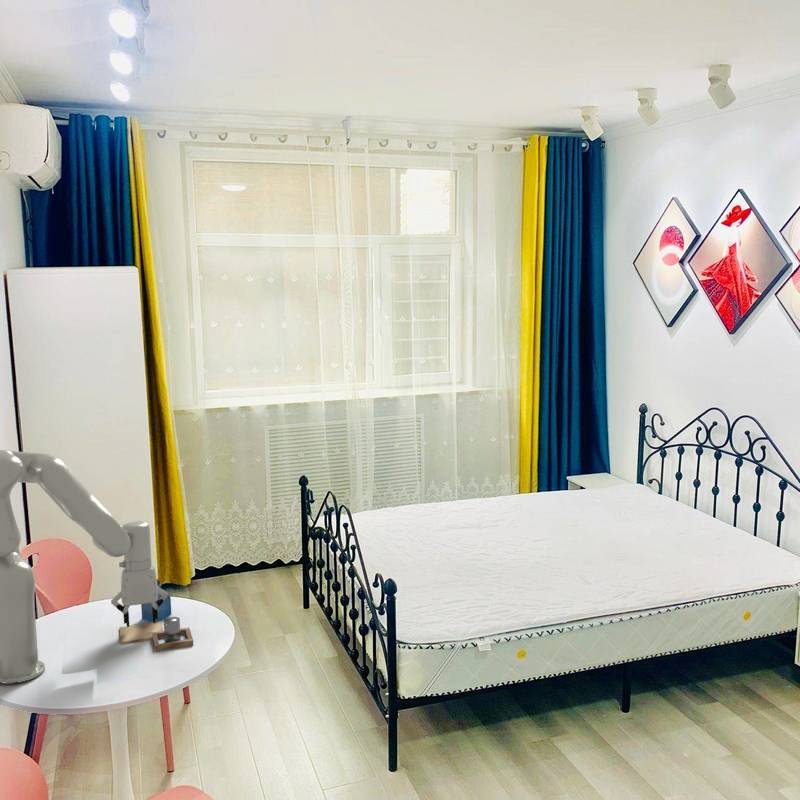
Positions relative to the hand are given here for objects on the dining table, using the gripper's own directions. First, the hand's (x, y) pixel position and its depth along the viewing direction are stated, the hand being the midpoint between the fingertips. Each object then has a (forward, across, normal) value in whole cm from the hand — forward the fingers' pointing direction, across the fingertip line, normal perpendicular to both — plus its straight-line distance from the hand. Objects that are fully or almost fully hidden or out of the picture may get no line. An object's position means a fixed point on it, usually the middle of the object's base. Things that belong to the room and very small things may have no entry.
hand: (141, 623), depth 237 cm
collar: (+3, +8, -10) cm, 13 cm away
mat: (+3, 0, 0) cm, 3 cm away
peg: (+3, +8, -10) cm, 13 cm away
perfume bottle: (+3, +5, +11) cm, 13 cm away
